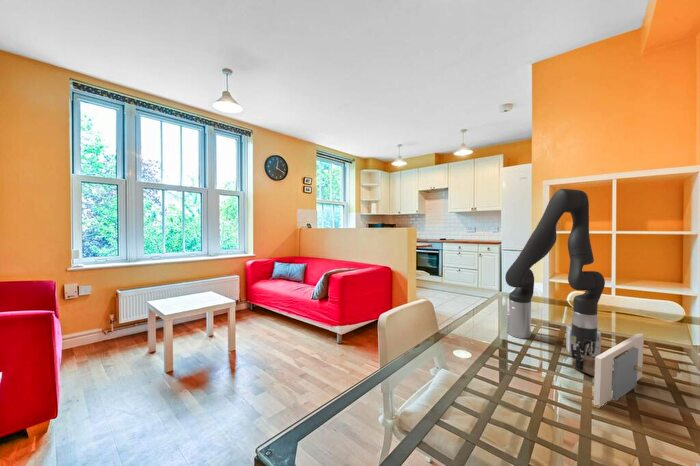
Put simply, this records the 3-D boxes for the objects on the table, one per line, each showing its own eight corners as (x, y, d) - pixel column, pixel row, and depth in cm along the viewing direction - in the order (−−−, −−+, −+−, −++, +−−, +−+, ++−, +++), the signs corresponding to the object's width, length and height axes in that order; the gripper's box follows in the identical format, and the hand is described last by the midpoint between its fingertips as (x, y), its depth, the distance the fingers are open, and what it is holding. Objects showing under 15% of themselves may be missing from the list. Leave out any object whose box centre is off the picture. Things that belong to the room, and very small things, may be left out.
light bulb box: (595, 351, 124) (596, 326, 123) (601, 358, 118) (602, 333, 117) (565, 346, 128) (565, 323, 127) (569, 354, 122) (569, 329, 121)
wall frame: (593, 405, 91) (595, 357, 89) (636, 375, 106) (638, 332, 104) (599, 408, 89) (601, 359, 88) (641, 377, 104) (643, 334, 103)
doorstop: (572, 367, 111) (572, 356, 111) (578, 363, 113) (579, 352, 113) (619, 386, 99) (619, 374, 98) (625, 382, 101) (626, 369, 100)
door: (612, 399, 93) (614, 359, 92) (632, 384, 100) (634, 347, 99) (622, 403, 91) (624, 363, 90) (642, 388, 98) (644, 350, 97)
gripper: (582, 316, 115) (581, 357, 116) (563, 324, 108) (561, 367, 110) (606, 322, 108) (604, 366, 110) (586, 331, 102) (585, 377, 103)
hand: (582, 366), depth 110 cm, fingers closed on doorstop, 5 cm apart
